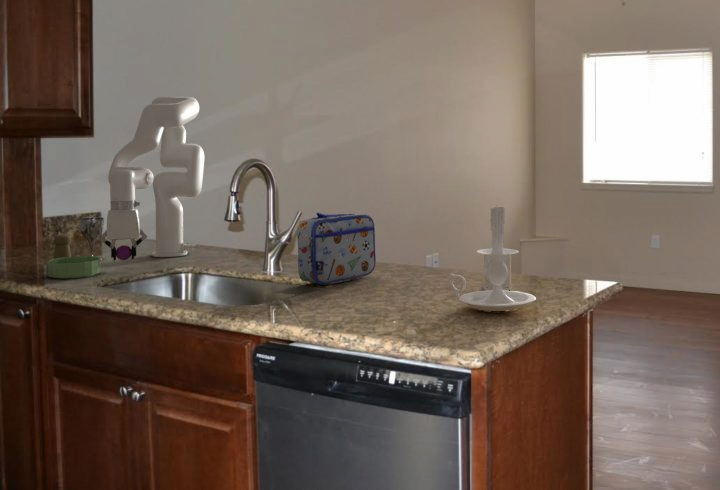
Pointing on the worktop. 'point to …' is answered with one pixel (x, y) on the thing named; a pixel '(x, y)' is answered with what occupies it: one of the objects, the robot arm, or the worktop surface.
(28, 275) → the worktop surface
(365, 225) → the lunch box
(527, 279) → the worktop surface
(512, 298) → the candlestick
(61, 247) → the cork
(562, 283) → the worktop surface
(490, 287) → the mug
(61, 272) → the bowl
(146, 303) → the worktop surface
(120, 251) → the ball
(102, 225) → the wine glass
